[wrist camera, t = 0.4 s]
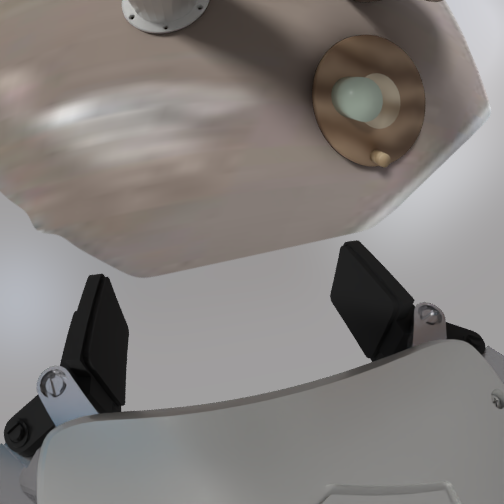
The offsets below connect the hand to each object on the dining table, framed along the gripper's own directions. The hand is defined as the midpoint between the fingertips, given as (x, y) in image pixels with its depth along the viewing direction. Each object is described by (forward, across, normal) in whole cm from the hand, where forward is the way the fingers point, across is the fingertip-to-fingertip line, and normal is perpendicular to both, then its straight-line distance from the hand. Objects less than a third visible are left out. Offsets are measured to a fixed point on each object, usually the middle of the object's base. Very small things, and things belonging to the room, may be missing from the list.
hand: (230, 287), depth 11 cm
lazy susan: (+32, -30, -7) cm, 45 cm away
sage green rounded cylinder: (+31, -24, -7) cm, 40 cm away
